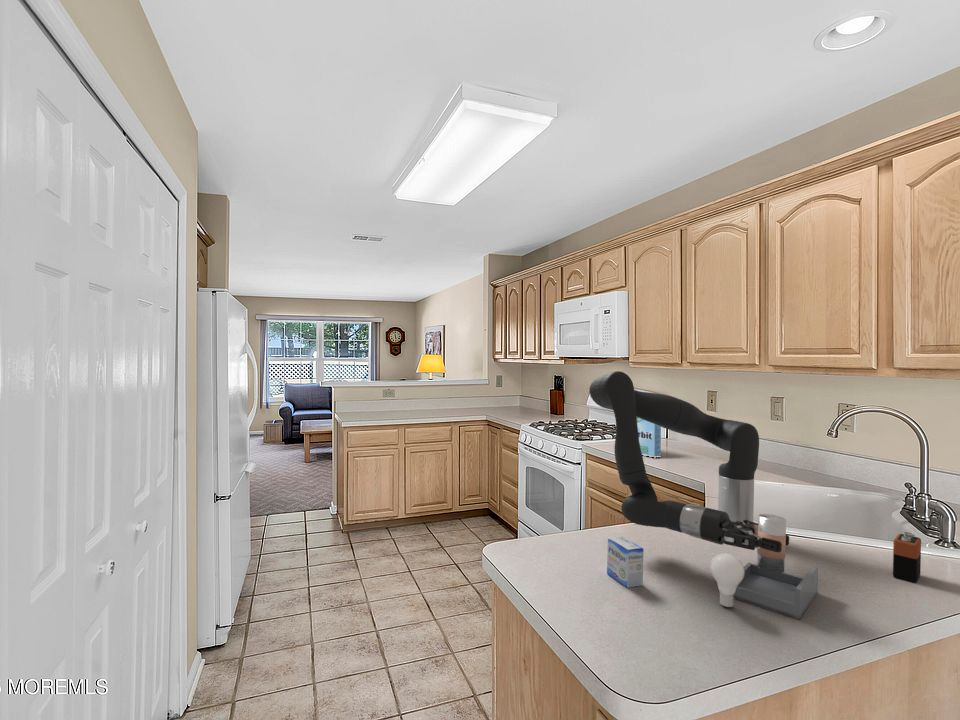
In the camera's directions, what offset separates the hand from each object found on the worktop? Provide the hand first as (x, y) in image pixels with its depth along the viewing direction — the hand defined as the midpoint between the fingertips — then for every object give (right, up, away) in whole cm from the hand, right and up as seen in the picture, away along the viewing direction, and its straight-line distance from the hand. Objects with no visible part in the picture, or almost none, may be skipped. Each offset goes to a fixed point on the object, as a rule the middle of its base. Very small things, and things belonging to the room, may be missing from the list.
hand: (784, 544), depth 107 cm
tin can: (-2, -6, +2) cm, 7 cm away
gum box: (+21, -11, +156) cm, 158 cm away
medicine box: (-32, -12, +8) cm, 35 cm away
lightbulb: (-14, -12, -4) cm, 19 cm away
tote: (-2, -12, +2) cm, 12 cm away
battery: (+36, -12, +12) cm, 40 cm away
